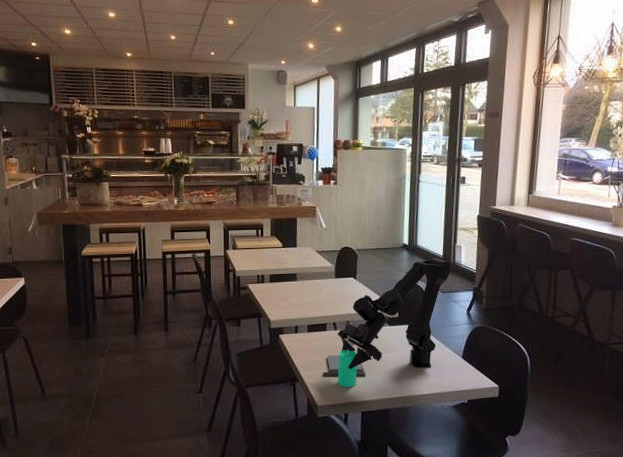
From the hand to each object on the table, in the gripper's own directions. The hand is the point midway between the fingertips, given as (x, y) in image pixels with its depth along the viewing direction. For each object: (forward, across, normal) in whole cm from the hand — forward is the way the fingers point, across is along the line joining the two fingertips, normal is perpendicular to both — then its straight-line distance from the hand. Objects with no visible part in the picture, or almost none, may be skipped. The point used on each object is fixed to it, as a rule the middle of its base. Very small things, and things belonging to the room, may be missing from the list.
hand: (344, 365), depth 182 cm
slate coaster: (-2, -13, +11) cm, 17 cm away
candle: (+4, 0, +6) cm, 7 cm away
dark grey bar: (+2, -5, +8) cm, 10 cm away
